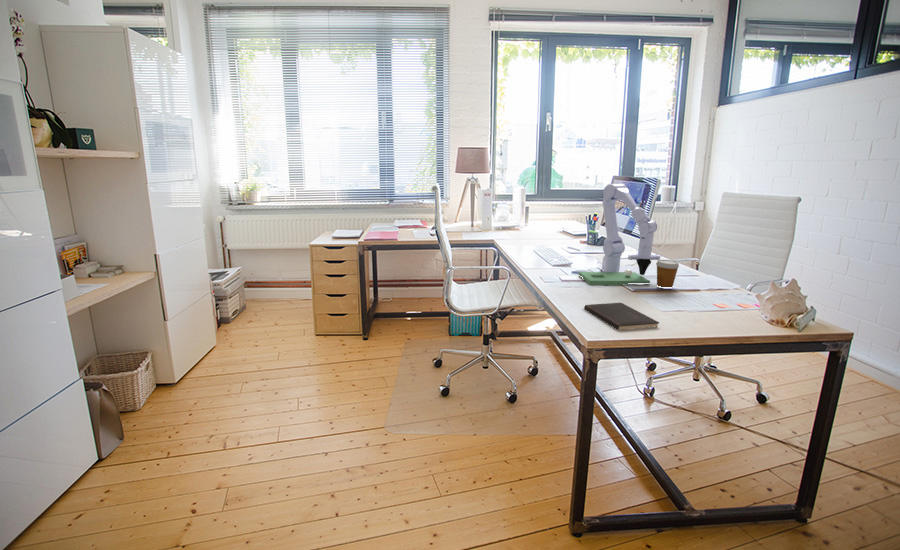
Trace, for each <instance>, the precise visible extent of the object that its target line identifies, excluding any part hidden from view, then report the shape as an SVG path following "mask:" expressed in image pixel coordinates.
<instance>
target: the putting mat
mask: <svg viewBox="0 0 900 550" xmlns="http://www.w3.org/2000/svg"><path fill="white" fill-rule="evenodd" d="M624 272H625V271H624ZM624 272H622V271H619V272H603V271H579V272H578V276H579V275H580V276H582V277H583V279H584V280H585V281H586V283H587V284H588V285H589V286H624V285H623V284H628V283H650V284H651V280H649V279H647V278H645V277H644V276H643V275H640V273H637V272H635V271H634V272H633V271H632V275H631V276H629V277H628V276H626V275H625V274H624ZM583 279H582V280H583ZM584 280H583V281H584ZM585 281H584V282H585Z"/></svg>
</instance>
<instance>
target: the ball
mask: <svg viewBox="0 0 900 550" xmlns="http://www.w3.org/2000/svg"><path fill="white" fill-rule="evenodd" d="M632 272H633V271H632V269H629V268H626V269H625V270H624V274H625V275H626V276H628V277H629V276H631V275H632Z"/></svg>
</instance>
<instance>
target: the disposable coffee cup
mask: <svg viewBox="0 0 900 550" xmlns="http://www.w3.org/2000/svg"><path fill="white" fill-rule="evenodd" d="M655 264H656V286H657V285H658V286H661V287H672V286H673V287H674V282H675V279H676V276H677V273H678V269H679V268H680V263H679V262H678V261H677V260H671V259H660V260H656V263H655ZM673 287H672V288H673Z"/></svg>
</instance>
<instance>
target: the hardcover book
mask: <svg viewBox="0 0 900 550" xmlns="http://www.w3.org/2000/svg"><path fill="white" fill-rule="evenodd" d="M583 310H585V311H586V310H587V311H586V312H588V311H589V312H590V313H589V312H588V313H589V314H591V313H592V314H591V315H592V316H594V315H595V316H594V317H596V316H597V317H598V318H597V317H596V318H597V319H599V318H600V319H599V320H601V321H602V320H603V321H602V322H604V321H605V322H606V323H605V322H604V323H605V324H607V323H608V324H609V325H608V324H607V325H608V326H610V325H611V326H610V327H612V326H613V327H614V328H613V327H612V328H613V329H615V328H616V329H618V330H619V329H627V330H632V329H631V328H640V329H644V328H643V327H653V328H655V327H654V326H657V327H658V325H659V324H660V322H659V321H657V320H655V319H653V318H651V317H650V316H648V315H646V314H644V313H642V312H640V311H638V310H636V309H635V308H632V307H630V306H629V305H627V304H625V303H624V302H623V303H622V302H608V303H594V304H585V305H584V307H583ZM616 329H615V330H616ZM618 330H617V331H618ZM619 331H620V330H619Z"/></svg>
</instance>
